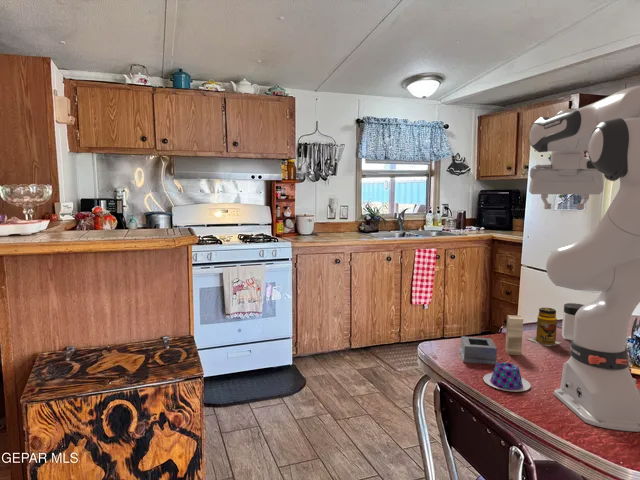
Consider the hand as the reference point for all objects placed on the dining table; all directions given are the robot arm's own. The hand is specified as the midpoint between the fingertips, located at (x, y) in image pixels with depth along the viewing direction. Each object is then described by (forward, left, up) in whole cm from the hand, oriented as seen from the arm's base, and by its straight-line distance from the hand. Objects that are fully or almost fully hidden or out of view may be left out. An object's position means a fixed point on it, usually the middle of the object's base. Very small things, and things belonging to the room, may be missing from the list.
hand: (563, 209), depth 134 cm
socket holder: (-8, +25, -47) cm, 54 cm away
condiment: (+13, 0, -47) cm, 49 cm away
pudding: (-26, +20, -48) cm, 58 cm away
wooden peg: (-1, +13, -47) cm, 49 cm away
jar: (+19, -12, -47) cm, 53 cm away
